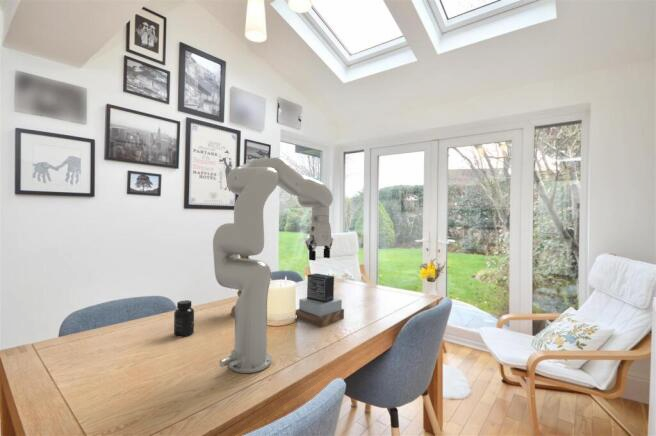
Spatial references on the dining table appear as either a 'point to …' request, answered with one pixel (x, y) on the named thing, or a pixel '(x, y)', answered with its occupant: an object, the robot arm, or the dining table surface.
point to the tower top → (320, 306)
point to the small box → (320, 287)
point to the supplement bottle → (184, 319)
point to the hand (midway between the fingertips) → (319, 258)
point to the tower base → (319, 320)
